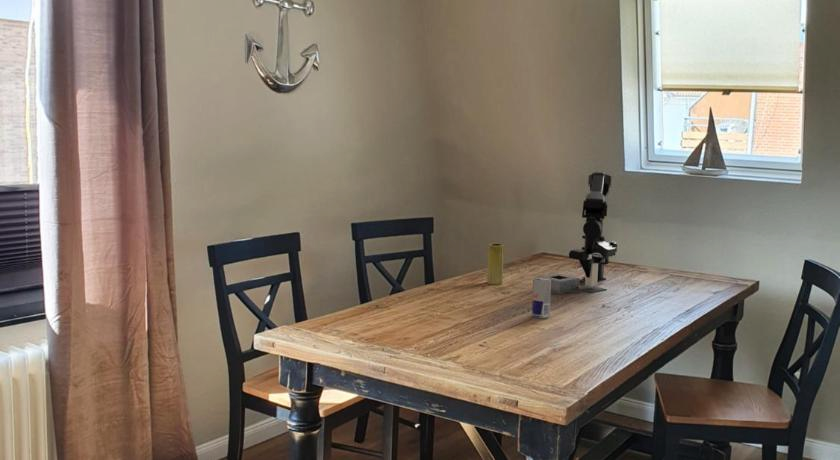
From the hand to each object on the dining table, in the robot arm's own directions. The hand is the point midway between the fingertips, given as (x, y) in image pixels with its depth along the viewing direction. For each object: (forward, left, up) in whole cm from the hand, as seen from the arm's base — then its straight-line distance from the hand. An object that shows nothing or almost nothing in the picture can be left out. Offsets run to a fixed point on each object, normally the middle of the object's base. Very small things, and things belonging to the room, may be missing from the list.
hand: (591, 276), depth 304 cm
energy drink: (+43, +17, -5) cm, 46 cm away
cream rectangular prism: (0, 0, -3) cm, 3 cm away
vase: (+21, -27, -5) cm, 35 cm away
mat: (0, 0, -5) cm, 5 cm away
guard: (+10, -6, -5) cm, 13 cm away
